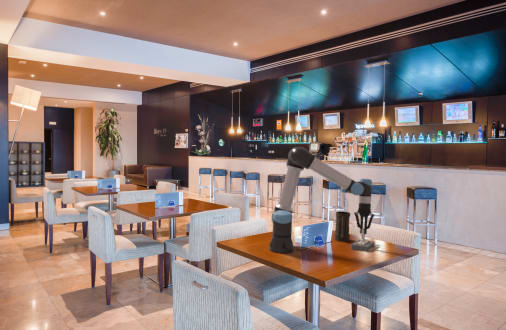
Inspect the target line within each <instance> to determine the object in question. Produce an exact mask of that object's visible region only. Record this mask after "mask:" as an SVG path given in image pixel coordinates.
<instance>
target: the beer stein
mask: <svg viewBox="0 0 506 330" xmlns="http://www.w3.org/2000/svg"><path fill="white" fill-rule="evenodd" d="M335 217H336V218H335V229H334V231H335V233H334V238H333V239H334V241H336V240H337V242H342V241H348V242H350V241H351V239H350V217H351V213H350V212H349V211H341V210H340V211H336V212H335Z"/></svg>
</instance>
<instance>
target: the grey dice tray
mask: <svg viewBox="0 0 506 330" xmlns="http://www.w3.org/2000/svg"><path fill="white" fill-rule="evenodd" d="M361 240H362V239H361V238H360V239H357V240H356V241H355V242H353V243H352V244H351V247H350V248H351V250H355V251H360V252H366V253H368V252H369V251H370V250H372V249H373V248H375V246H376V245H375V243H376V242H375V241H372V240H370V242H369V243H367V244H365V246H361V245H357V243H358V242H360V241H361ZM372 247H373V248H372ZM371 248H372V249H371Z"/></svg>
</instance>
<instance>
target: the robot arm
mask: <svg viewBox="0 0 506 330" xmlns="http://www.w3.org/2000/svg"><path fill="white" fill-rule="evenodd" d="M286 167H287V170H286V174H285V177H284V181H283V185H282V188H281V193H280V197H279V201H278V204H276V205H275V206H274V210H273V213H272V215H271V223H272V237H271V239H270V242H269V247H268V249H269V251H271V252H274V253H278V254H279V253H280V254H287V253H288V254H289V253H294V251H295V246H294V242H293V239H292V238H293V237H292V235H293V233H292V232H293V230H292V227H293V208H292V207H293V206H292V205H293V201H294V198H295V194H296V190H297V186H298V183H299V179H300V175H301V172H303V171H304V170H305V169H306V170H311V171H313V172H314V173H317V174H318V175H320V176H322V177H323V178H325V179H326V180H328V181H330V182H331V183H333V184H334V185H337V186H338V187H340V191H341V193H344V194H352V195H354V196H358V202H359V203H358V208H357V211H355V212H354V213H353V215H354V216H355V220H356V226H357V228H359V234H361V237H360V240H363V239H366V235H367V234H368V233H367V230H369V229H370V228H371V226H372V222H373V219H374V217H375V216H376V215H375V214H374V213H373V212H372V211H371V210H372V209H371V207H372V190H373V189H372V188H373V180H372V179H370V178H360V179H359V181H355V180H354V179H352V178H351V177H349V176H347V175H345V174H344V173H342V172H341V171H338V170H337V169H335V168H333V167H332V166H330V165H328V164H327V163H325V162H323V161H322V160H320V159H318V158H317V156H316V155H315V154H313V153H311V152H310V151H309V150H308V149H306V148H305V147H303V146H296V147H292V149H290V150H289V152H288V155H287V162H286ZM359 217H360V218H359ZM369 217H370V218H369ZM368 218H369V220H368Z"/></svg>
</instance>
